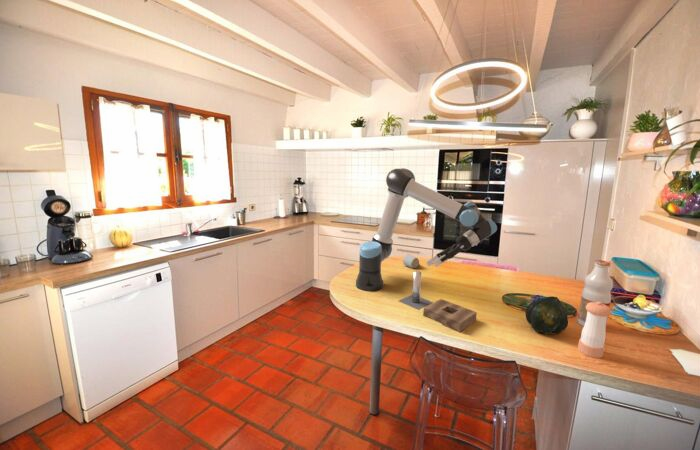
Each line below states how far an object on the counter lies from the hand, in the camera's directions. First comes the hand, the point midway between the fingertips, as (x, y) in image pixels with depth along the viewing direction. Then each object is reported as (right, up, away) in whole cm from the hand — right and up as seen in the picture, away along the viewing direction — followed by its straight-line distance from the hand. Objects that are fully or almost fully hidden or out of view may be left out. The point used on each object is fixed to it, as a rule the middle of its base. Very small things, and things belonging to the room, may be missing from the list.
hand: (430, 264), depth 147 cm
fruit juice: (+62, -23, -19) cm, 69 cm away
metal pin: (-8, -18, -1) cm, 19 cm away
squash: (+40, -24, -23) cm, 52 cm away
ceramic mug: (+2, -8, +52) cm, 53 cm away
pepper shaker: (+47, -27, -38) cm, 66 cm away
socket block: (+4, -21, -16) cm, 27 cm away
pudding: (+51, -20, -3) cm, 55 cm away
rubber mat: (-8, -18, -1) cm, 20 cm away
